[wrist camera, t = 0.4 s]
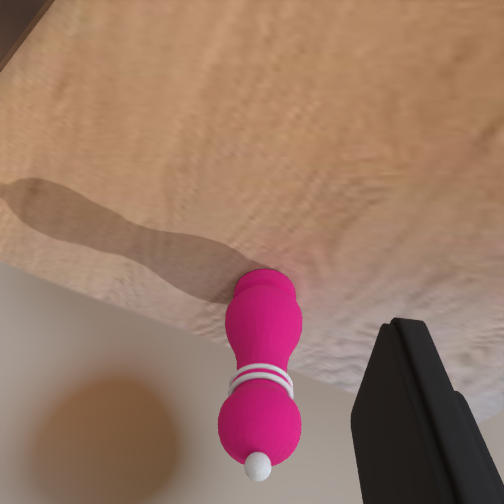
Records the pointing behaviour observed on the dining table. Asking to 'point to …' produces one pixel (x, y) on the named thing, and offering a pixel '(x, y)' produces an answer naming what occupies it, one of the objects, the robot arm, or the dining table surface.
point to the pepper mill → (261, 373)
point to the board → (18, 24)
